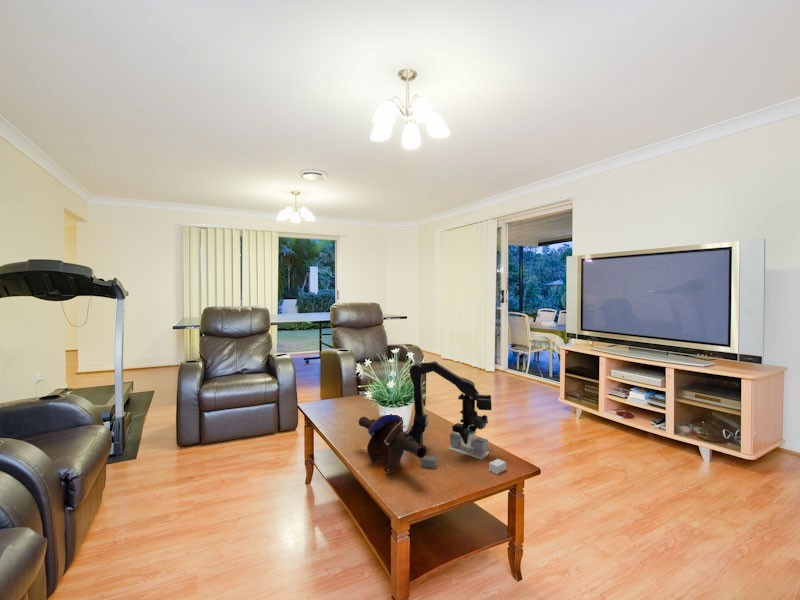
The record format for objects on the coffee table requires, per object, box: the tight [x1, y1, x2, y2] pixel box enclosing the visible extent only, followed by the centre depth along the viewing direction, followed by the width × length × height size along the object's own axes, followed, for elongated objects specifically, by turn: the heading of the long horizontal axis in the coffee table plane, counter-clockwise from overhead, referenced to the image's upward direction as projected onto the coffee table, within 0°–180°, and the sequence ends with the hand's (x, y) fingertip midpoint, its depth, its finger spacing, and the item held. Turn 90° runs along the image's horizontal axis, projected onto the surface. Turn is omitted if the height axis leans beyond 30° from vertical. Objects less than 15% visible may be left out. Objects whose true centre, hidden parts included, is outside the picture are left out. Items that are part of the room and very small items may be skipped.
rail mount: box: [448, 431, 490, 460], centre depth 176 cm, size 7×17×7 cm, turn 49°
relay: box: [420, 455, 438, 469], centre depth 162 cm, size 4×6×4 cm, turn 74°
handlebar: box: [358, 414, 427, 473], centre depth 163 cm, size 45×13×20 cm, turn 37°
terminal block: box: [488, 458, 507, 475], centre depth 158 cm, size 6×4×4 cm, turn 129°
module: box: [461, 430, 477, 448], centre depth 176 cm, size 5×5×6 cm
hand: (468, 442), depth 176 cm, fingers closed on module, 4 cm apart
